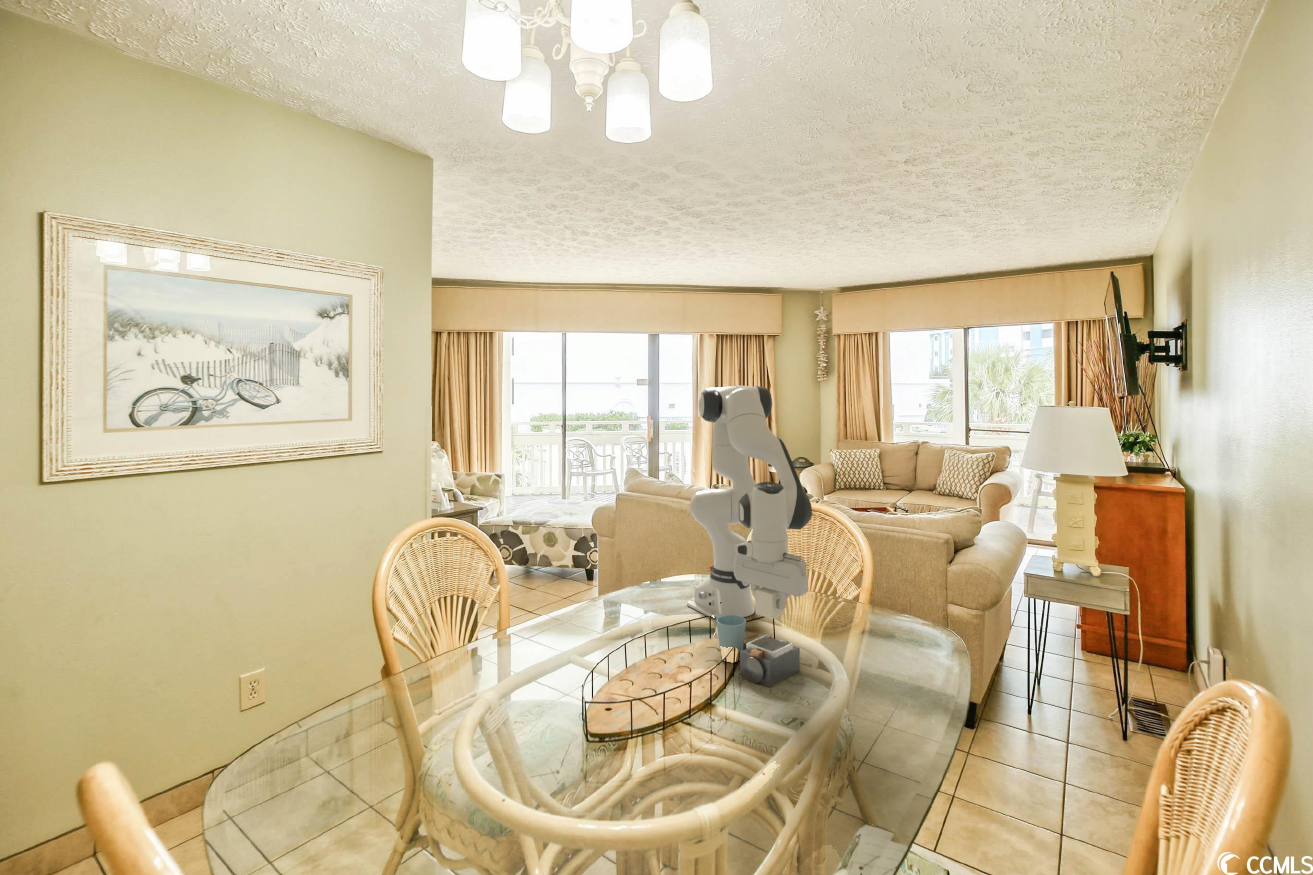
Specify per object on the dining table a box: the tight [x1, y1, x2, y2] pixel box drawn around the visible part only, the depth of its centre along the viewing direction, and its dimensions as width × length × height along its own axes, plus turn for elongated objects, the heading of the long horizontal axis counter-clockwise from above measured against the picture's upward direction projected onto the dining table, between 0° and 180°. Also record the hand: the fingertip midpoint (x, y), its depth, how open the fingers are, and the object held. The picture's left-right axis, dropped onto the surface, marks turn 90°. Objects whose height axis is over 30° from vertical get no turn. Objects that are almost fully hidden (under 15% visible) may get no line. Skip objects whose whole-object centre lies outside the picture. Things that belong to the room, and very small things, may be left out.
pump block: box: [754, 587, 786, 620], centre depth 151 cm, size 5×6×6 cm
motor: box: [739, 634, 801, 688], centre depth 152 cm, size 9×14×8 cm, turn 132°
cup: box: [715, 615, 747, 652], centre depth 160 cm, size 8×8×10 cm
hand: (770, 605), depth 151 cm, fingers closed on pump block, 5 cm apart
